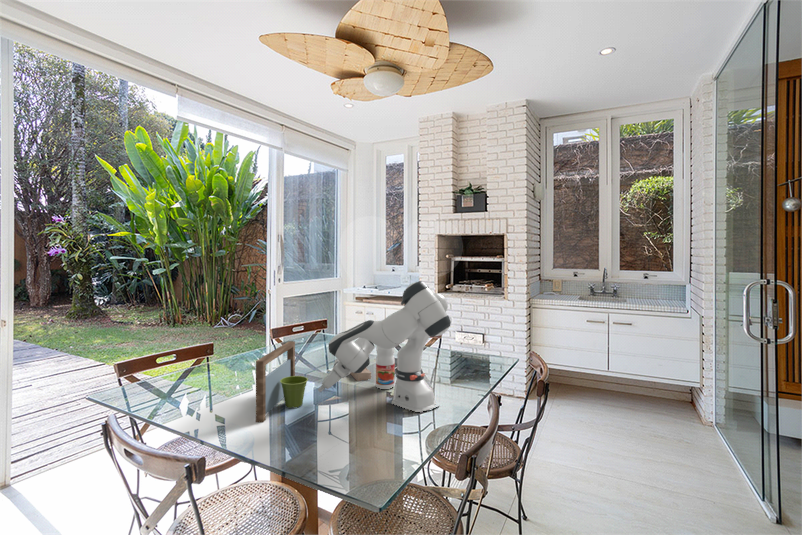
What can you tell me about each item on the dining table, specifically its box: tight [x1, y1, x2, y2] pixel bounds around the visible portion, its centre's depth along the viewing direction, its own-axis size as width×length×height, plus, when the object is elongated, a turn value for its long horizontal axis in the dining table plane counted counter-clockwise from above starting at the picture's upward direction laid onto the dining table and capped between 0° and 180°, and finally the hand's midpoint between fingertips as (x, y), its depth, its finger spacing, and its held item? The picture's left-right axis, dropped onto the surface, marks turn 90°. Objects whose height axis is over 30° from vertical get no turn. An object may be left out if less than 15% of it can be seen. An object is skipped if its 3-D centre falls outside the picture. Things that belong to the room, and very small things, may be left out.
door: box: [266, 359, 291, 415], centre depth 169 cm, size 3×30×15 cm, turn 177°
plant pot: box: [280, 375, 309, 409], centre depth 168 cm, size 12×12×11 cm
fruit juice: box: [375, 345, 396, 390], centre depth 193 cm, size 9×9×28 cm
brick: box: [349, 367, 372, 382], centre depth 211 cm, size 17×8×5 cm, turn 22°
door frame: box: [255, 340, 296, 423], centre depth 168 cm, size 3×36×24 cm, turn 176°
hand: (322, 387), depth 169 cm, fingers open, 8 cm apart
